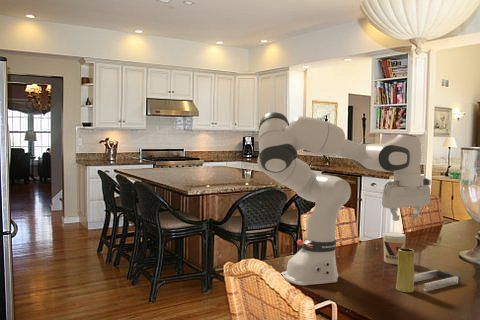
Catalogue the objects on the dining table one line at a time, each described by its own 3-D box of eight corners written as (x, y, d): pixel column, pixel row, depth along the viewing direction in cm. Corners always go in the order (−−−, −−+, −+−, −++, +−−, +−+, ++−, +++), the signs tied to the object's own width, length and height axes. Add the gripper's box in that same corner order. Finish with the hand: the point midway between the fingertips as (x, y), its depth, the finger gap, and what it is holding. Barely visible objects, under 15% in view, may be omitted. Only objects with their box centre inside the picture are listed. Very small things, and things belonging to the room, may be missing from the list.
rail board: (425, 291, 150) (426, 284, 149) (403, 283, 158) (403, 276, 158) (460, 283, 159) (460, 276, 159) (437, 275, 167) (438, 269, 167)
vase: (399, 285, 156) (400, 246, 155) (416, 289, 152) (418, 249, 151) (393, 289, 151) (394, 249, 150) (410, 294, 147) (412, 253, 146)
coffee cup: (380, 262, 184) (381, 235, 183) (384, 257, 192) (385, 230, 191) (403, 266, 179) (404, 237, 179) (406, 260, 188) (407, 233, 187)
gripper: (391, 182, 144) (390, 223, 144) (434, 180, 153) (432, 218, 153) (378, 180, 149) (377, 220, 150) (419, 178, 158) (418, 215, 159)
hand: (405, 219), depth 152 cm, fingers open, 8 cm apart
